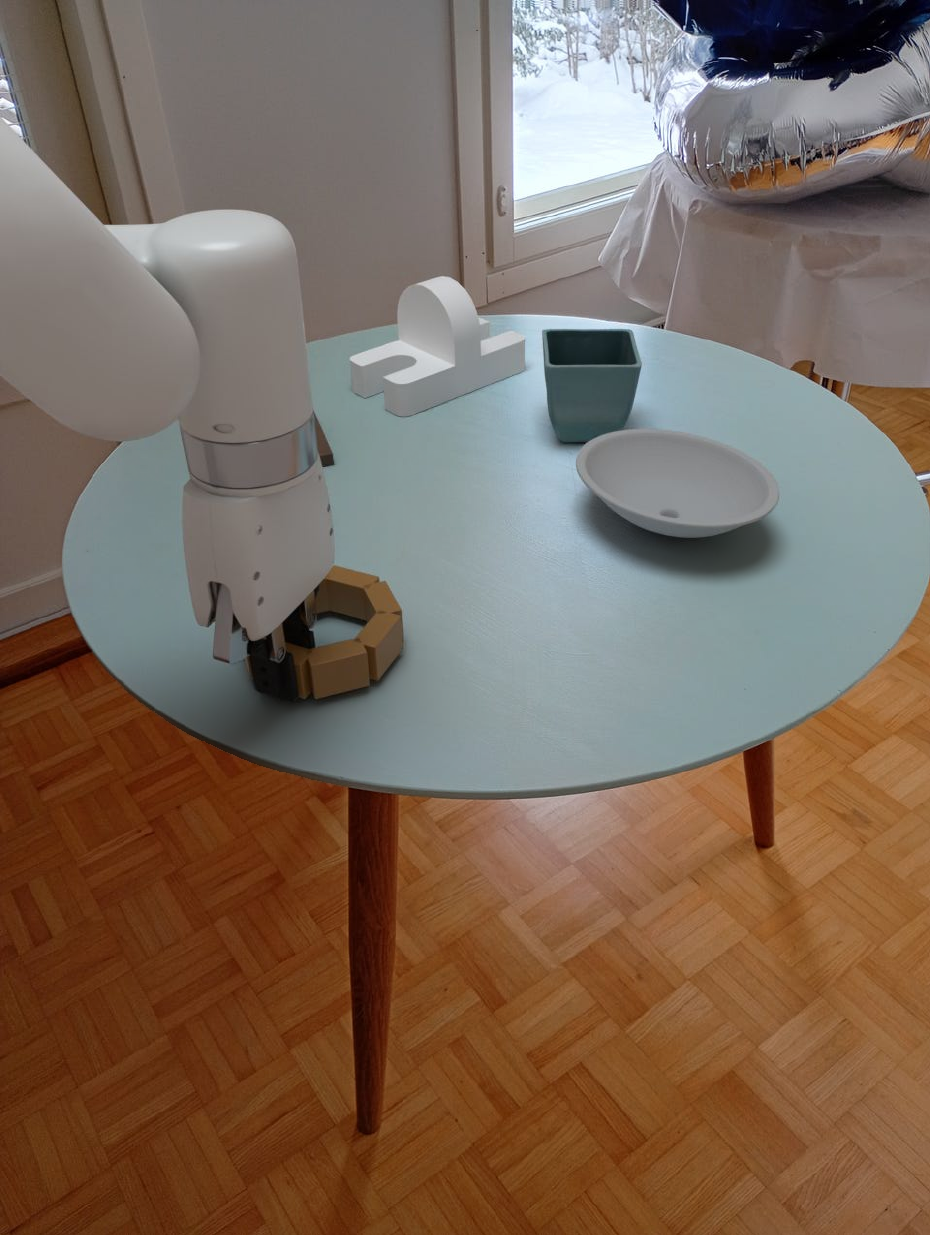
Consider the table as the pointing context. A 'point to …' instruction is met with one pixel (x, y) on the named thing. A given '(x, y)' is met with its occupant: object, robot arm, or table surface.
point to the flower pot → (589, 380)
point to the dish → (677, 481)
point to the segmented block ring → (355, 657)
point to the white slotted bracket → (436, 351)
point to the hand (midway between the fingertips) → (287, 682)
